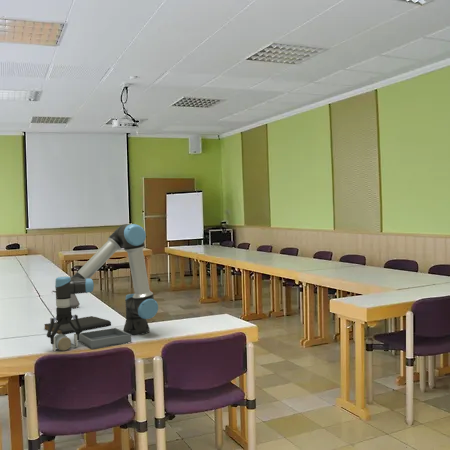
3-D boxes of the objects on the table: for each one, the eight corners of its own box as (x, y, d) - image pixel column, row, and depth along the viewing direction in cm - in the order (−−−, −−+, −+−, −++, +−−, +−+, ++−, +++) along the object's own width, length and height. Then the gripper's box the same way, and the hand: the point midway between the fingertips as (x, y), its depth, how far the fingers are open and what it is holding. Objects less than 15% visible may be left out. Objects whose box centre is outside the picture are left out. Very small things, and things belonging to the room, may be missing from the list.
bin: (115, 335, 301) (115, 327, 301) (131, 342, 283) (131, 334, 282) (78, 341, 289) (78, 333, 288) (92, 349, 270) (91, 340, 270)
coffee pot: (75, 305, 407) (74, 286, 407) (82, 307, 398) (81, 288, 398) (49, 309, 393) (48, 290, 393) (55, 311, 384) (54, 291, 384)
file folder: (91, 315, 346) (111, 320, 329) (91, 321, 346) (111, 327, 329) (43, 323, 323) (62, 329, 306) (44, 330, 323) (62, 336, 306)
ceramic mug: (58, 352, 266) (58, 337, 266) (52, 349, 272) (52, 334, 272) (78, 349, 272) (78, 334, 272) (72, 346, 279) (72, 331, 279)
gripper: (83, 302, 282) (84, 343, 282) (39, 308, 269) (40, 350, 269) (87, 304, 275) (89, 346, 276) (43, 310, 262) (44, 353, 263)
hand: (65, 348), depth 272 cm, fingers closed on ceramic mug, 11 cm apart
